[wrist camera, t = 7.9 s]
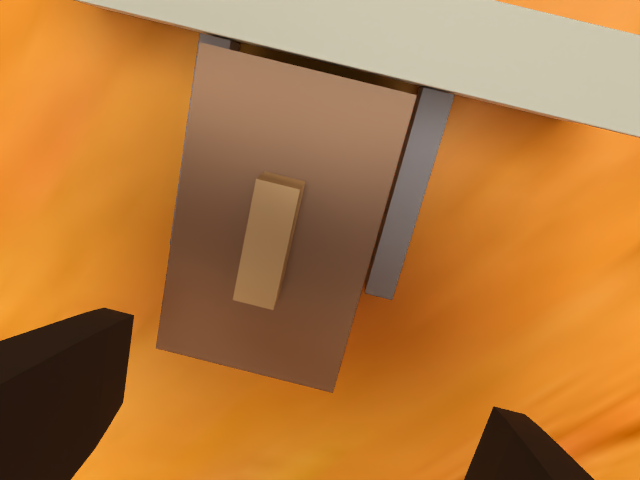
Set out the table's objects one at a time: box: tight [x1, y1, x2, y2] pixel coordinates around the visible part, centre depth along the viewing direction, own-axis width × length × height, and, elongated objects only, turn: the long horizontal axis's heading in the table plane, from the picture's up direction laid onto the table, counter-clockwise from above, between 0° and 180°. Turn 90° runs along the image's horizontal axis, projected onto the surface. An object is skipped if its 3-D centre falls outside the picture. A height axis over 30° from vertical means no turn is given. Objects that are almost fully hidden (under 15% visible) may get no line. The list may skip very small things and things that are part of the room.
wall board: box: [75, 0, 640, 300], centre depth 14 cm, size 9×16×7 cm, turn 77°
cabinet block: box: [156, 42, 417, 393], centre depth 14 cm, size 8×5×7 cm, turn 167°
